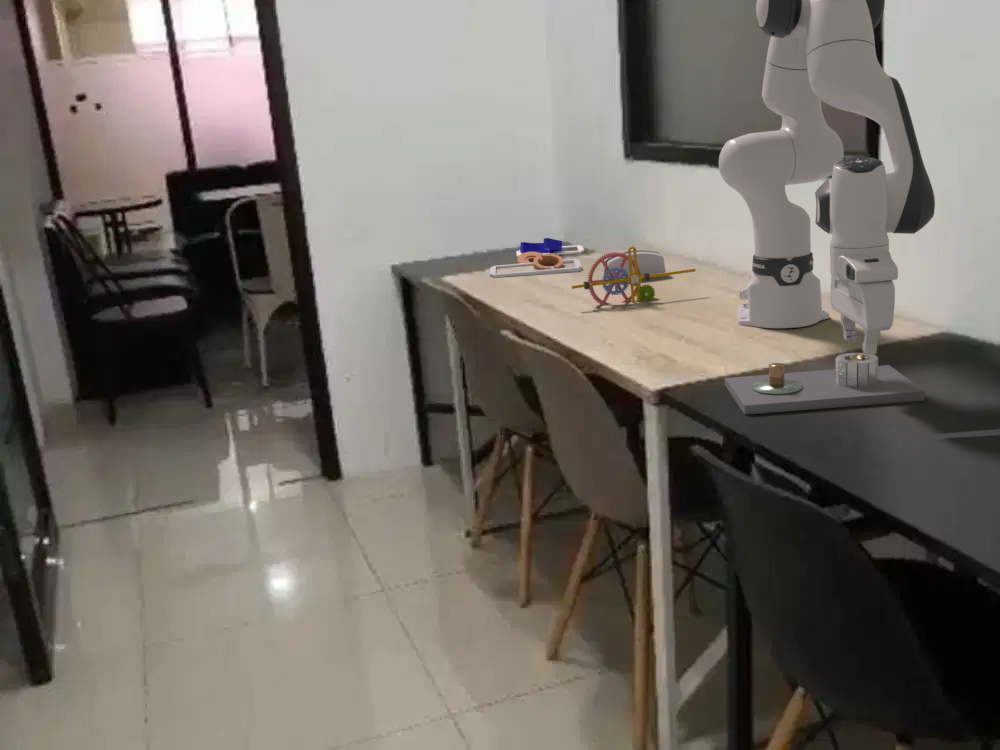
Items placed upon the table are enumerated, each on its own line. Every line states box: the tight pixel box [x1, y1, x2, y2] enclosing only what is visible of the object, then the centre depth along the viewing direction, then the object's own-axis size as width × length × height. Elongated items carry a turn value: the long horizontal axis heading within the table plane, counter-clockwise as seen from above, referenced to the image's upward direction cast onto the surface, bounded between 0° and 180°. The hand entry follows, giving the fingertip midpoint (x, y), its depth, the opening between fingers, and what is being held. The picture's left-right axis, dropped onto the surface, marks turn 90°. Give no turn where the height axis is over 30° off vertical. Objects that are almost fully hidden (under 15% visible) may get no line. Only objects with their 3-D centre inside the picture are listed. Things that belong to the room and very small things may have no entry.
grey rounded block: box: [602, 249, 667, 279], centre depth 271 cm, size 17×5×10 cm, turn 100°
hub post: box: [752, 362, 802, 395], centre depth 172 cm, size 8×8×4 cm
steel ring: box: [835, 352, 879, 387], centre depth 171 cm, size 6×6×4 cm
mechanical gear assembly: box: [571, 246, 696, 306], centre depth 244 cm, size 30×4×15 cm, turn 102°
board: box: [724, 364, 925, 415], centre depth 172 cm, size 16×28×2 cm, turn 89°
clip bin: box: [516, 244, 585, 258], centre depth 318 cm, size 12×20×4 cm, turn 89°
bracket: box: [516, 252, 564, 270], centre depth 298 cm, size 18×8×7 cm, turn 27°
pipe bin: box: [489, 258, 583, 279], centre depth 292 cm, size 15×25×4 cm, turn 89°
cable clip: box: [519, 237, 563, 253], centre depth 315 cm, size 12×4×6 cm
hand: (859, 347), depth 170 cm, fingers open, 8 cm apart
